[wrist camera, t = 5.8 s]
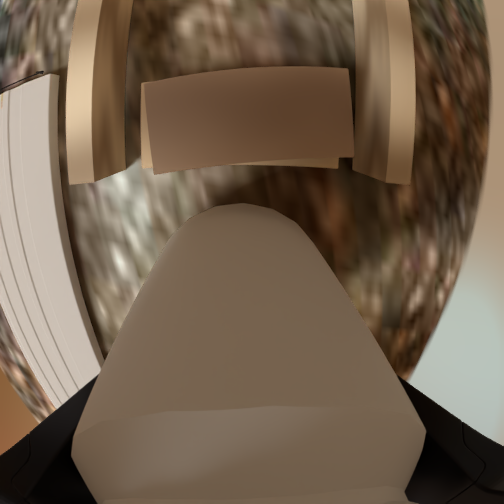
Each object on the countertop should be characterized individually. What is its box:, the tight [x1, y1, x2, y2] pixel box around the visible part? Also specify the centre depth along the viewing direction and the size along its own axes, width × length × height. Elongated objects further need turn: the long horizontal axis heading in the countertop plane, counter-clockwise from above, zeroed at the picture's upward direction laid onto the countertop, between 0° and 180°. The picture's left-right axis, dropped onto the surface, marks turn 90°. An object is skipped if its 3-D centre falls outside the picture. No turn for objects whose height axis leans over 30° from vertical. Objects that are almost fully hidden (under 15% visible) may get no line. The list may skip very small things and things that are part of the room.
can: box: [71, 203, 426, 504], centre depth 8 cm, size 8×8×12 cm
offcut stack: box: [141, 66, 354, 175], centre depth 10 cm, size 4×8×4 cm, turn 89°
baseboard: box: [0, 71, 105, 409], centre depth 15 cm, size 30×3×10 cm
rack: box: [66, 0, 416, 185], centre depth 8 cm, size 15×13×4 cm
